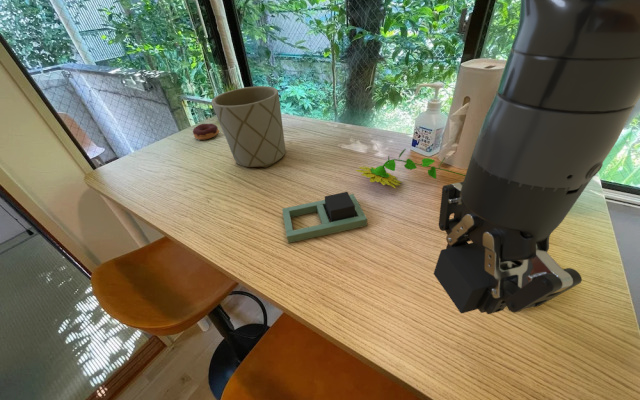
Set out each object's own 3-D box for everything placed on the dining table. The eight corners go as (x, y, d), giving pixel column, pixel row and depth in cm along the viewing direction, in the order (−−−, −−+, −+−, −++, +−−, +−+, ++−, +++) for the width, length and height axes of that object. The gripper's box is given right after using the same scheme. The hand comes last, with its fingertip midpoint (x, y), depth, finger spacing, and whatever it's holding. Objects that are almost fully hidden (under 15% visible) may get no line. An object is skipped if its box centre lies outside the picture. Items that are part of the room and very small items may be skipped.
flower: (451, 187, 74) (352, 164, 71) (466, 159, 70) (361, 134, 67) (473, 207, 63) (357, 180, 60) (492, 175, 59) (368, 145, 56)
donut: (214, 140, 99) (210, 131, 97) (190, 141, 101) (186, 132, 98) (223, 130, 107) (220, 121, 105) (201, 131, 108) (198, 122, 106)
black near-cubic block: (354, 221, 57) (354, 205, 54) (331, 226, 56) (330, 210, 53) (347, 206, 61) (347, 191, 58) (325, 211, 60) (324, 196, 58)
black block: (504, 302, 28) (521, 278, 25) (460, 314, 28) (472, 290, 25) (471, 264, 32) (483, 239, 30) (433, 273, 32) (440, 249, 29)
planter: (298, 146, 89) (289, 86, 77) (271, 175, 75) (254, 107, 63) (252, 141, 95) (237, 85, 83) (220, 167, 82) (196, 105, 69)
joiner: (367, 225, 55) (367, 218, 54) (288, 243, 53) (286, 236, 52) (353, 200, 63) (353, 193, 62) (283, 214, 61) (282, 208, 60)
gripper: (432, 129, 25) (408, 247, 35) (584, 230, 13) (482, 359, 24) (500, 117, 25) (458, 235, 36) (697, 202, 14) (552, 339, 25)
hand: (468, 284), depth 30 cm, fingers closed on black block, 5 cm apart
